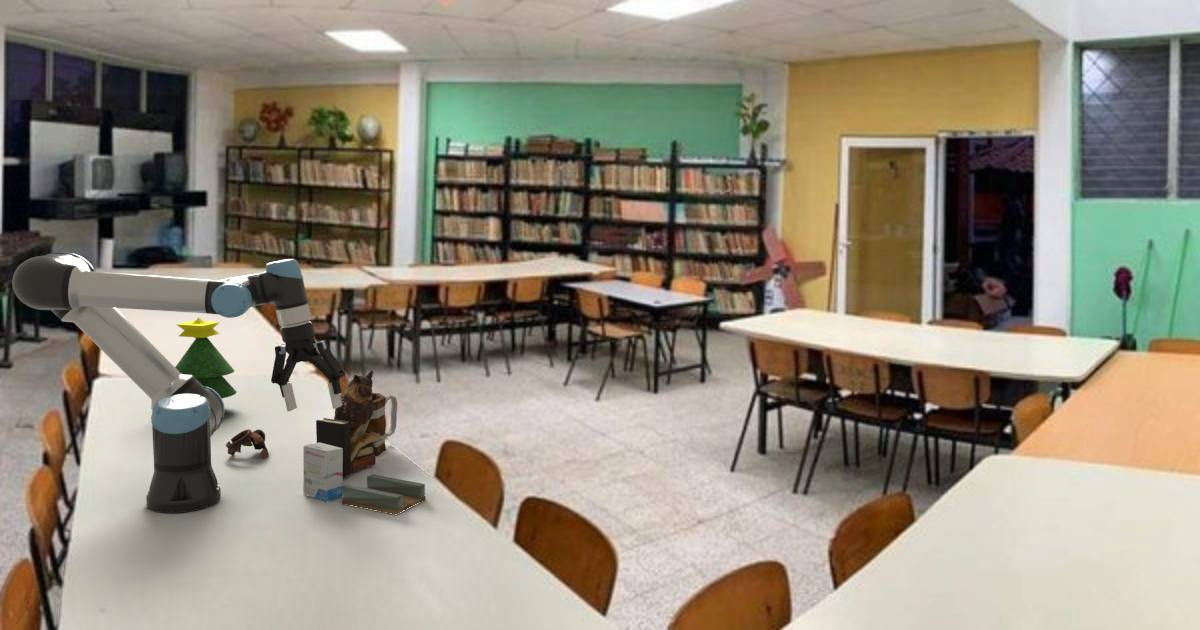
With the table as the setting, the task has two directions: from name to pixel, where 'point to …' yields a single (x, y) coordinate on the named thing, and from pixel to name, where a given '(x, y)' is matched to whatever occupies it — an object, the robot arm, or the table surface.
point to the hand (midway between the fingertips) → (314, 408)
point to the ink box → (323, 471)
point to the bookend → (352, 426)
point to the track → (384, 494)
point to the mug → (381, 419)
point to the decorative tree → (205, 358)
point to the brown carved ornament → (248, 442)
